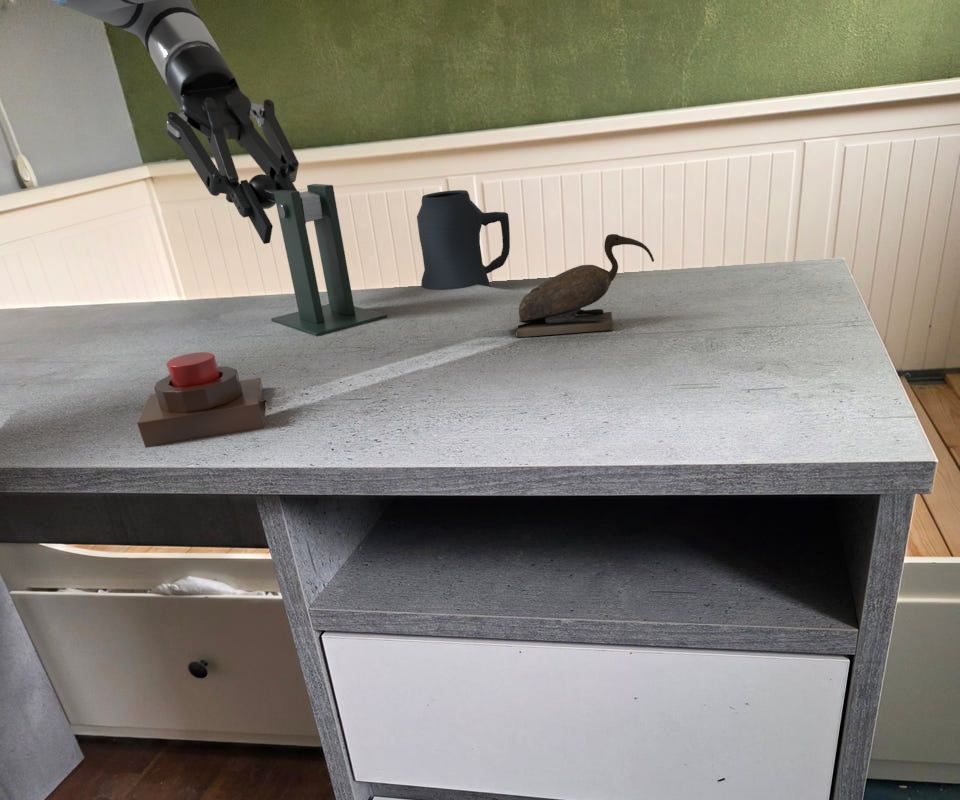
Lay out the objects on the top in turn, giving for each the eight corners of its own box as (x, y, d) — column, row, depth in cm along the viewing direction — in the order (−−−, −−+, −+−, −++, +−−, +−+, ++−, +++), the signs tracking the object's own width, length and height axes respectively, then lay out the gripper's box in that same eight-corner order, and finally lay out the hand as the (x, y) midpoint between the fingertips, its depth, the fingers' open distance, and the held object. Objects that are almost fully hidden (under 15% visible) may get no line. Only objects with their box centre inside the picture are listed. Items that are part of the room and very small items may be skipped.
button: (171, 393, 74) (163, 369, 72) (176, 380, 77) (169, 356, 76) (219, 385, 74) (212, 361, 73) (222, 373, 77) (215, 349, 76)
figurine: (652, 316, 92) (653, 226, 87) (654, 327, 88) (655, 234, 83) (519, 326, 94) (513, 239, 89) (516, 338, 90) (509, 247, 86)
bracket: (273, 331, 104) (242, 193, 96) (340, 314, 108) (315, 180, 100) (319, 347, 96) (288, 197, 87) (389, 328, 100) (366, 182, 91)
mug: (416, 302, 109) (402, 203, 103) (424, 286, 116) (412, 192, 110) (512, 294, 107) (504, 192, 101) (514, 278, 115) (507, 182, 109)
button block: (145, 448, 74) (129, 401, 71) (156, 418, 80) (143, 374, 78) (264, 428, 75) (252, 382, 72) (266, 400, 81) (255, 357, 79)
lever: (245, 208, 103) (239, 174, 101) (273, 203, 105) (267, 170, 103) (300, 229, 94) (294, 192, 92) (329, 223, 96) (324, 187, 93)
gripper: (255, 90, 111) (342, 240, 108) (126, 106, 104) (215, 268, 101) (262, 35, 104) (354, 194, 102) (124, 49, 97) (220, 221, 94)
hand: (285, 231), depth 101 cm, fingers closed on lever, 4 cm apart
